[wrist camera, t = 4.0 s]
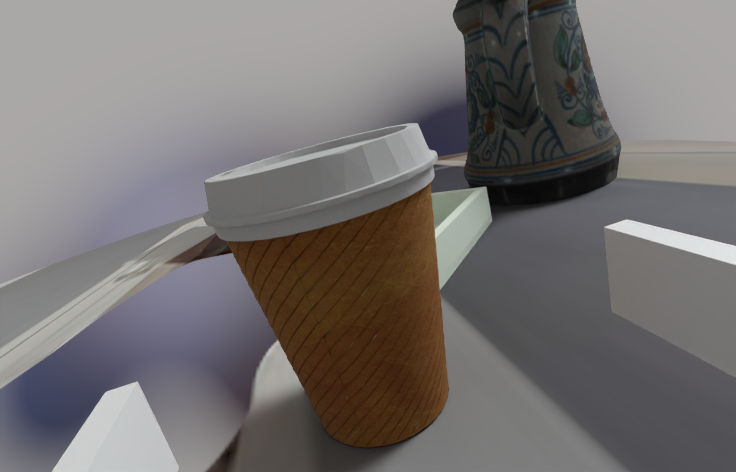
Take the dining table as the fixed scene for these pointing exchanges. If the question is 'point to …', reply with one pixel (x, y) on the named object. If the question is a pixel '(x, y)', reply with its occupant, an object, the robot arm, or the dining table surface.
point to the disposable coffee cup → (346, 275)
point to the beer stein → (532, 103)
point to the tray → (458, 226)
